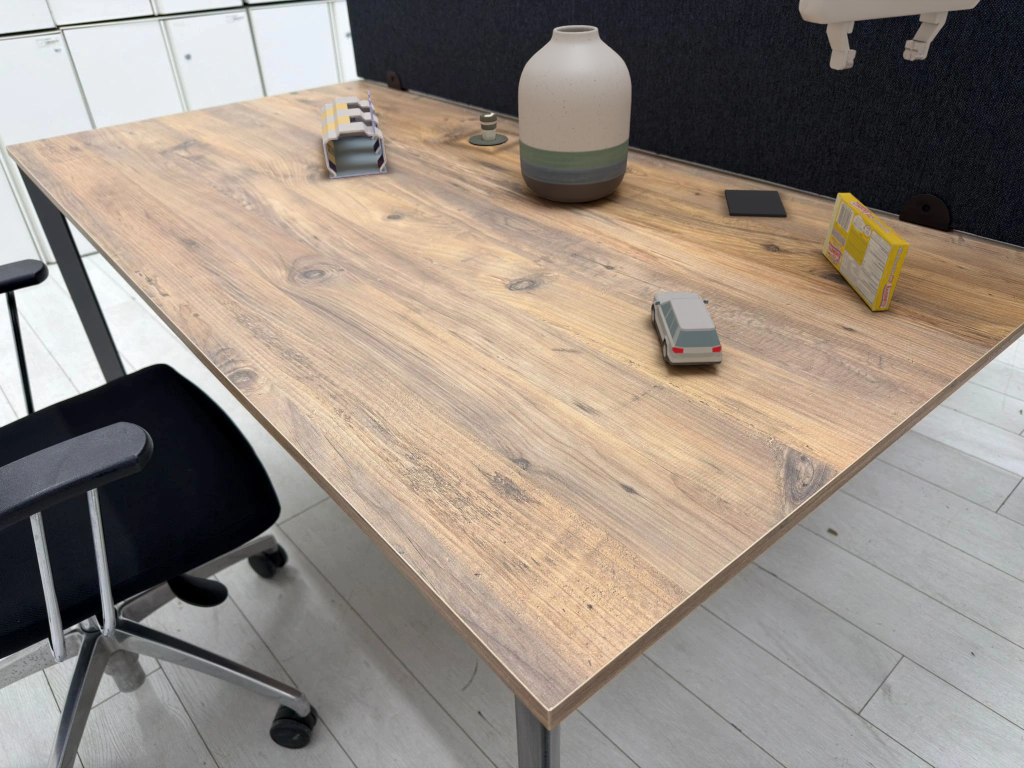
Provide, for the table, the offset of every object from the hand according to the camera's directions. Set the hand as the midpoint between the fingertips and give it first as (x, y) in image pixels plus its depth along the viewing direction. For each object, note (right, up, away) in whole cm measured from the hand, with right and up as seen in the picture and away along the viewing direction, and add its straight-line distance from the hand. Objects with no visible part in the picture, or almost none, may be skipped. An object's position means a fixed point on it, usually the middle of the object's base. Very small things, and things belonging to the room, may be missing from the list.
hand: (877, 64), depth 75 cm
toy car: (-20, -29, +2) cm, 35 cm away
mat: (-1, -6, +34) cm, 35 cm away
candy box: (+3, -21, +13) cm, 25 cm away
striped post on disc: (-43, +14, +67) cm, 80 cm away
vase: (-29, -3, +41) cm, 50 cm away
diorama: (-68, +10, +61) cm, 92 cm away
